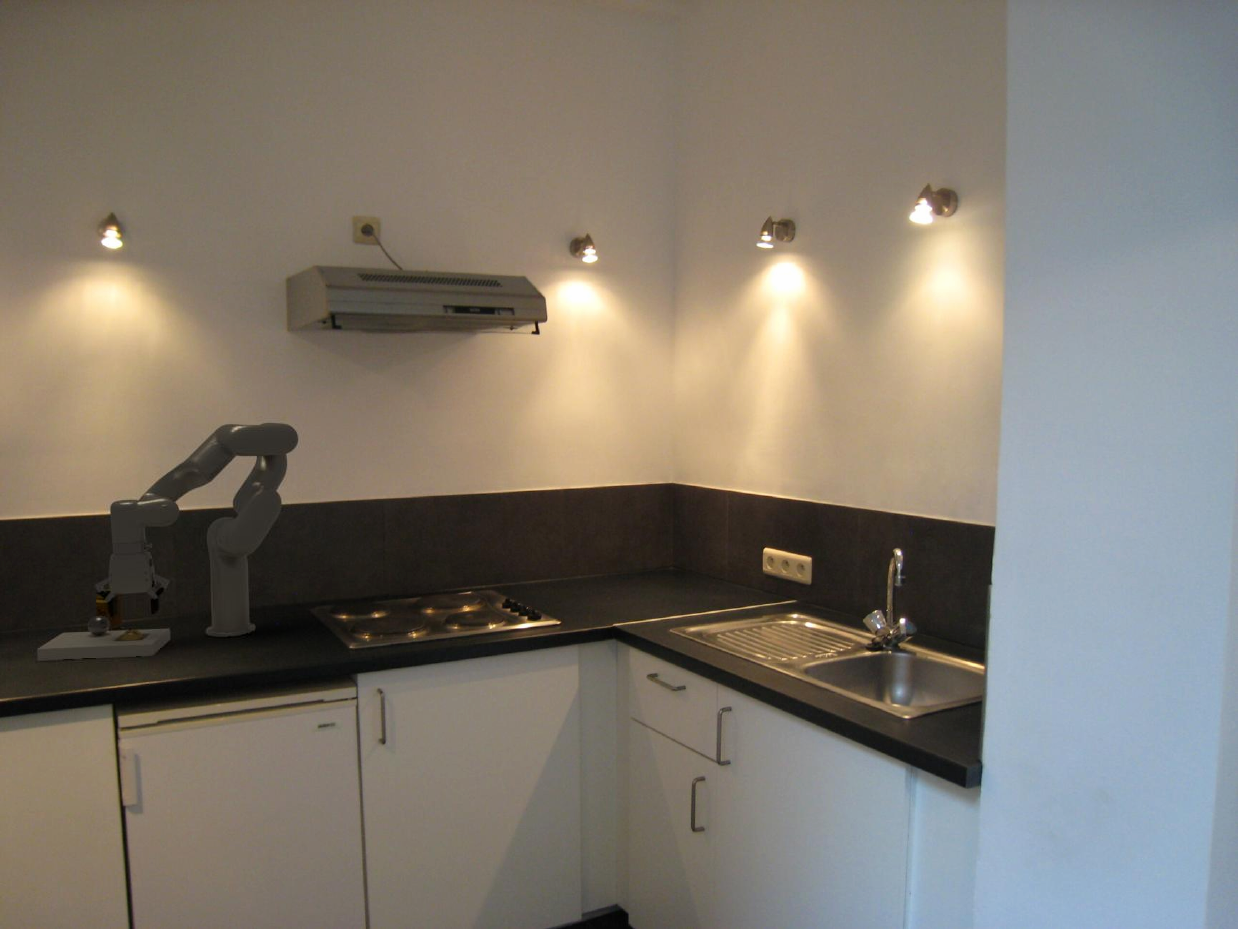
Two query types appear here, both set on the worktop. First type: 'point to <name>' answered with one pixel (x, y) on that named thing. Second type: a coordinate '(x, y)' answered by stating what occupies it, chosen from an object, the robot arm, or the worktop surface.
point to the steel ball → (98, 625)
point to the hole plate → (102, 645)
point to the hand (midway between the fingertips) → (134, 614)
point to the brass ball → (131, 635)
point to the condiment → (103, 611)
